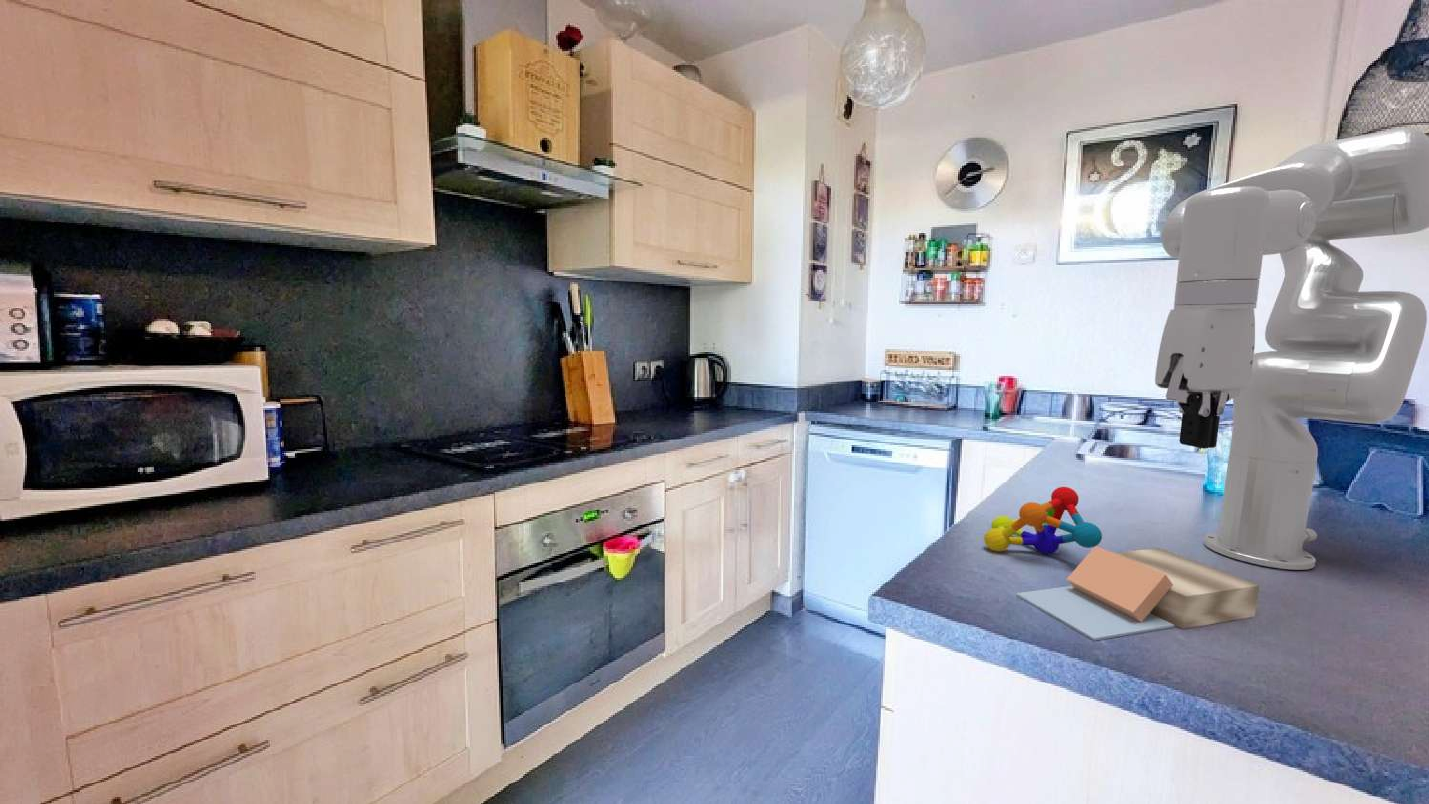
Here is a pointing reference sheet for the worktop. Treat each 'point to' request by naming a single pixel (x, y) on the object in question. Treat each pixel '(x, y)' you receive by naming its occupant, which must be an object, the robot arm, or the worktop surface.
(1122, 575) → the salmon pink brick
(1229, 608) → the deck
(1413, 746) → the worktop surface
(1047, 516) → the molecular model
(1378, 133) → the robot arm
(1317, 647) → the worktop surface
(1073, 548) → the worktop surface
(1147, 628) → the mat
